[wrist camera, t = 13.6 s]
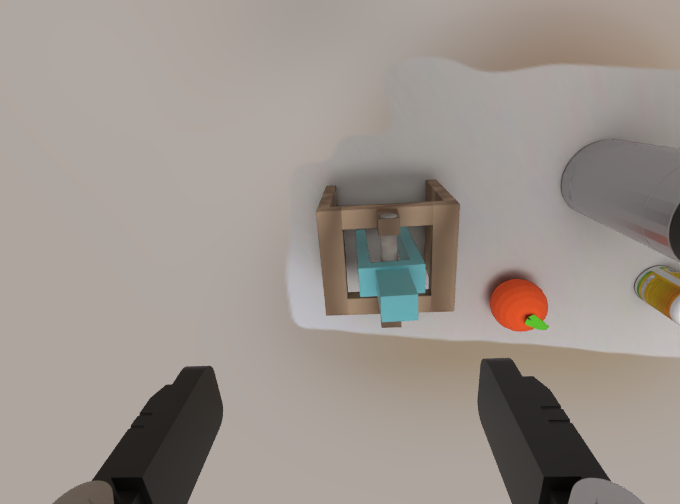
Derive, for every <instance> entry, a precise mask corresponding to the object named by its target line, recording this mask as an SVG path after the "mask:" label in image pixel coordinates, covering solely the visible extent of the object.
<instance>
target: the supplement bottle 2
mask: <svg viewBox="0 0 680 504" xmlns="http://www.w3.org/2000/svg"><path fill="white" fill-rule="evenodd" d="M635 292H636V294H637V295H638V296H639V297H640V298H641V299H642V300H644V301H645V302H647V303H648V304H649V305H651V306H652V307H654V308H655V309H657V310H658V311H660V312H661V313H663V314H664V315H665V316H667V317H668V318H670V319H671V320H673V321H674V322H675V323H677V324H679V325H680V272H678V271H676V270H674V269H672V268H670V267H667V266H655V267H652V268H650V269H648V270H646V271H645V272H643V273H642V274H641V275H640V276H639V277H638V279H637V281H636V283H635Z"/></svg>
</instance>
